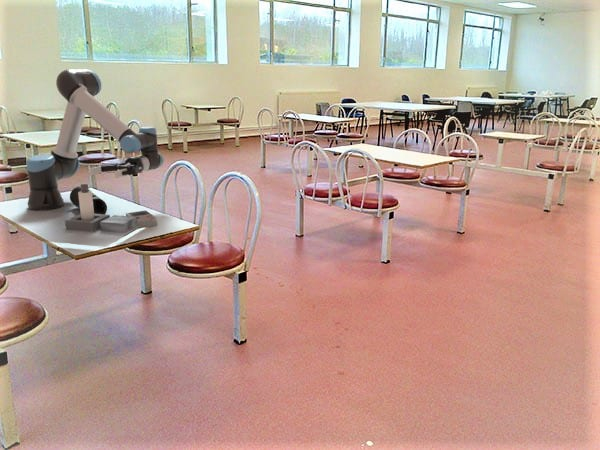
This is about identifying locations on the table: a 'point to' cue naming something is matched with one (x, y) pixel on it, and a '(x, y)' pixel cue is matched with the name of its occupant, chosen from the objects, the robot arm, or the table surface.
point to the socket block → (85, 223)
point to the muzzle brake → (98, 203)
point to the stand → (118, 224)
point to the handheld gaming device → (143, 218)
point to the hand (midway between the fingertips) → (102, 173)
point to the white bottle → (86, 203)
